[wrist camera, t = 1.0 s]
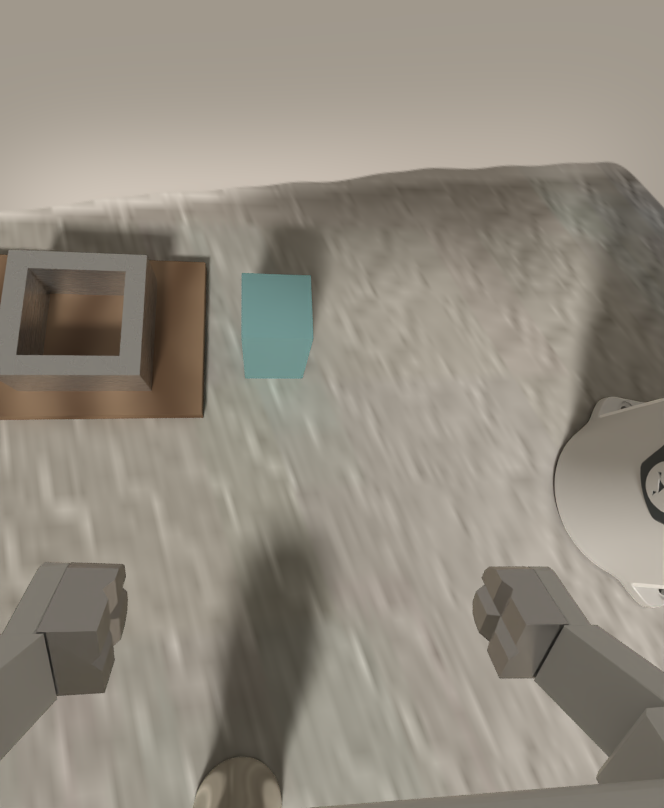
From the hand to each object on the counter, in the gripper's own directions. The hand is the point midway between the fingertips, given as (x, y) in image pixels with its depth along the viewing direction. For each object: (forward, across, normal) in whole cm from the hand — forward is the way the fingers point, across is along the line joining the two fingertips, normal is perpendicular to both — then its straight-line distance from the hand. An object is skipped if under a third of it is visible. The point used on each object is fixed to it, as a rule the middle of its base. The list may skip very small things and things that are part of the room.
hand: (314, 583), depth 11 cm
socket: (+32, +15, +7) cm, 36 cm away
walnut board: (+33, +15, +8) cm, 37 cm away
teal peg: (+32, 0, +7) cm, 33 cm away
